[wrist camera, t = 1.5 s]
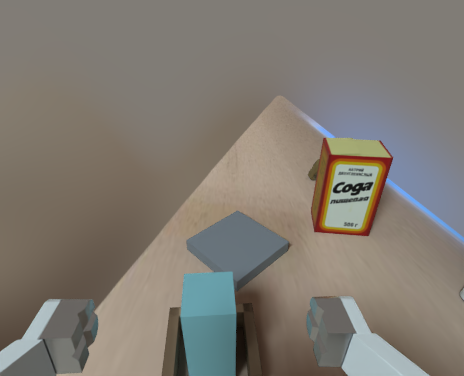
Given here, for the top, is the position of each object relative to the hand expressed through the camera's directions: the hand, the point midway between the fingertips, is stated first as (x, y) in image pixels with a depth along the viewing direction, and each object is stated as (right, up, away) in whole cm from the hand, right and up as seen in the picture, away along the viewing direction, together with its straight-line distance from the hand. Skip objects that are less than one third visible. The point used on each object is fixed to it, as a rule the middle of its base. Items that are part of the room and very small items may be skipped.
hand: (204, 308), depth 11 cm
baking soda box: (+21, -2, +46) cm, 51 cm away
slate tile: (+2, -6, +40) cm, 40 cm away
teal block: (-1, -16, +24) cm, 29 cm away
